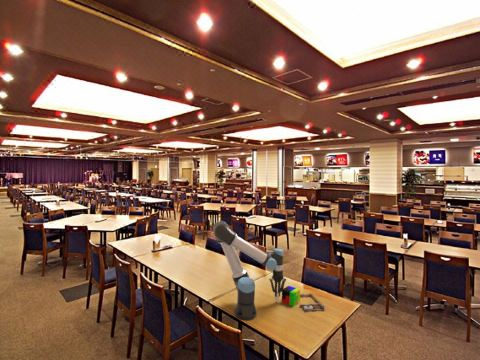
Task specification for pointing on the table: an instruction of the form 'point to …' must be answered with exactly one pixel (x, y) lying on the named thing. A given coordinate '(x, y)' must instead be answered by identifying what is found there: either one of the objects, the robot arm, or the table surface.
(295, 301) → the puzzle toy
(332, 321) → the table surface
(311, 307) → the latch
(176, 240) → the table surface
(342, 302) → the table surface
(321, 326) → the table surface
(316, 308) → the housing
